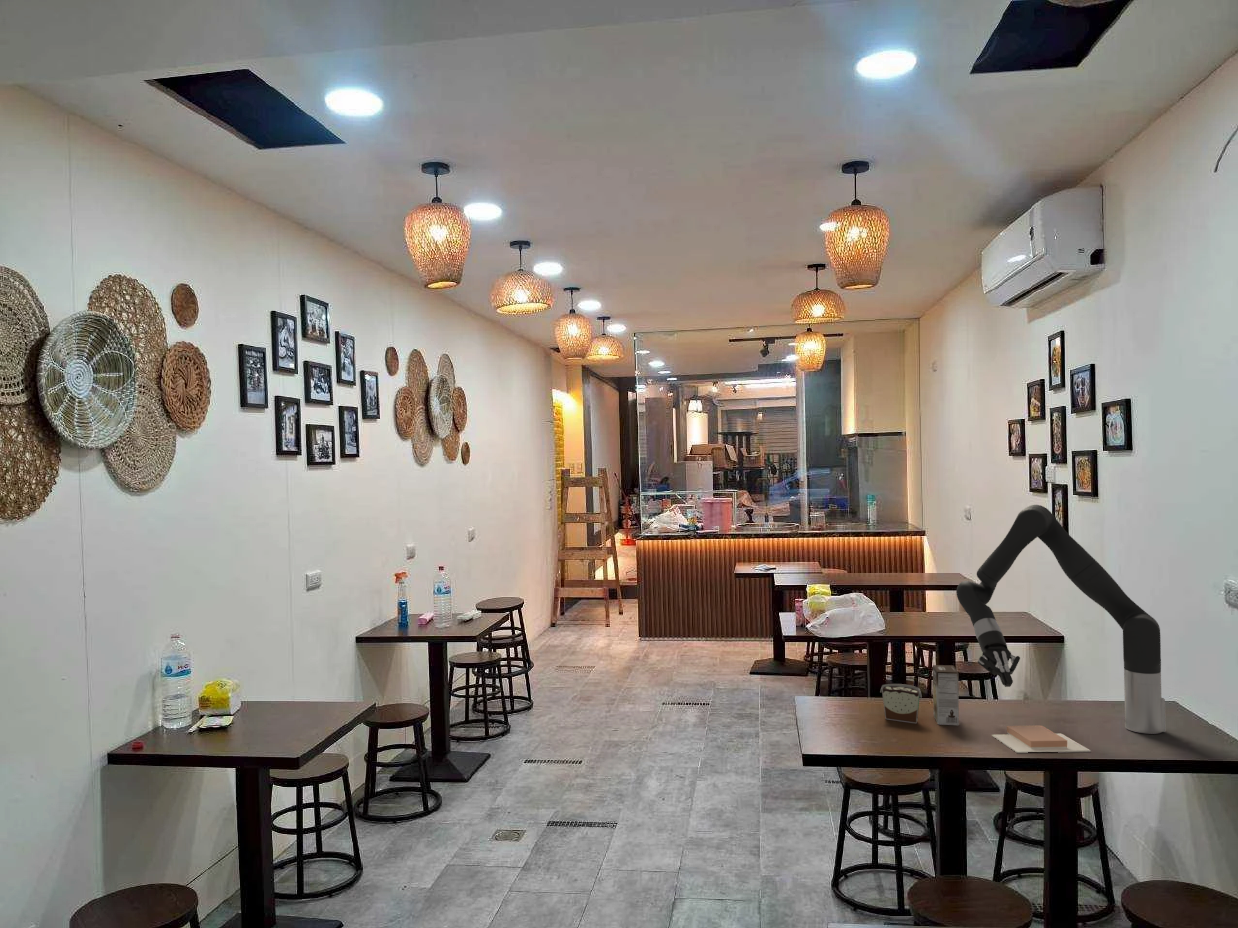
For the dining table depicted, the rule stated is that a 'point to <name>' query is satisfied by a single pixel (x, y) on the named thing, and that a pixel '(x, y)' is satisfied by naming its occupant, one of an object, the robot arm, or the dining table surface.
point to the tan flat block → (1037, 736)
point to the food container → (901, 702)
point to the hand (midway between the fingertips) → (1008, 685)
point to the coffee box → (945, 695)
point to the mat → (1022, 748)
